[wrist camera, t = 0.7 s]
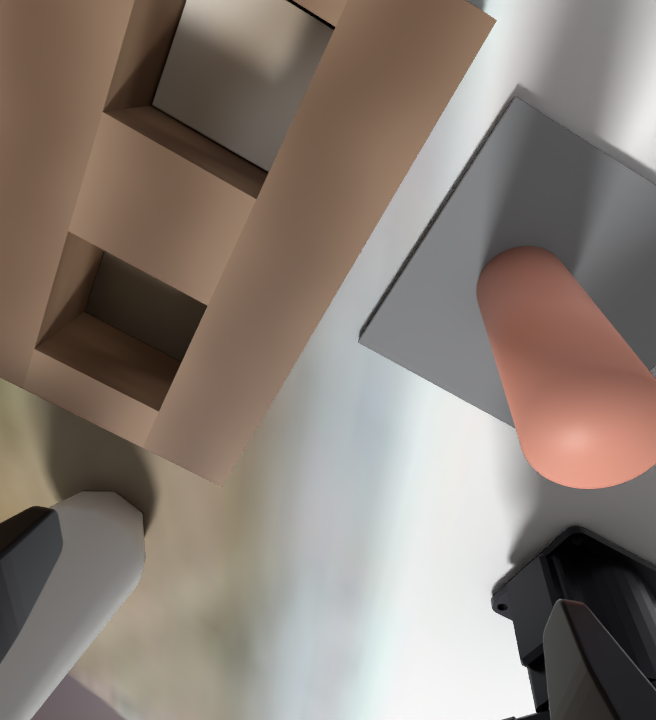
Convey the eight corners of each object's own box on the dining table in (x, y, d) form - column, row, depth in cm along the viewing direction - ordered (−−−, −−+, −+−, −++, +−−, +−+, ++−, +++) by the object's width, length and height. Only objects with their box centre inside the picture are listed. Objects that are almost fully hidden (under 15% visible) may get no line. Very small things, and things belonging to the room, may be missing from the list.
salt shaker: (94, 456, 27) (-139, 741, 15) (183, 526, 28) (31, 833, 17) (36, 512, 29) (-202, 794, 18) (121, 574, 31) (-49, 871, 19)
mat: (760, 252, 19) (765, 254, 18) (563, 451, 23) (565, 455, 23) (514, 96, 17) (516, 96, 17) (358, 339, 22) (357, 342, 22)
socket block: (480, 29, 17) (496, 20, 14) (245, 436, 25) (222, 487, 22) (117, -205, 15) (44, -275, 12) (-4, 309, 24) (-66, 345, 21)
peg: (587, 274, 19) (711, 413, 11) (529, 343, 21) (604, 509, 13) (512, 229, 19) (586, 341, 11) (458, 303, 20) (490, 448, 13)
